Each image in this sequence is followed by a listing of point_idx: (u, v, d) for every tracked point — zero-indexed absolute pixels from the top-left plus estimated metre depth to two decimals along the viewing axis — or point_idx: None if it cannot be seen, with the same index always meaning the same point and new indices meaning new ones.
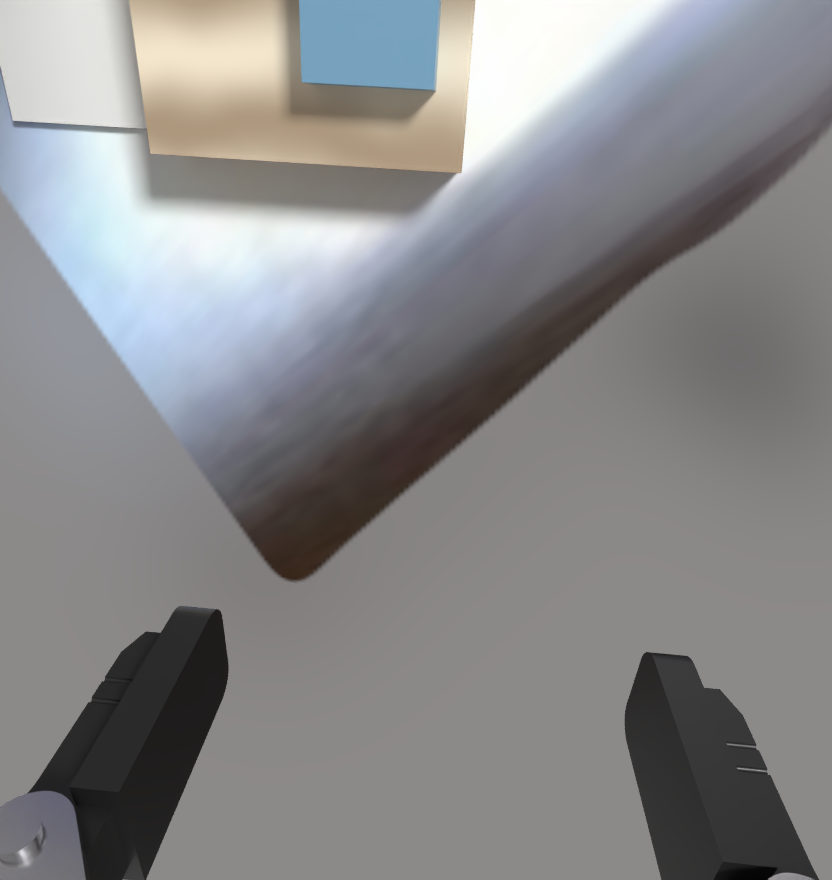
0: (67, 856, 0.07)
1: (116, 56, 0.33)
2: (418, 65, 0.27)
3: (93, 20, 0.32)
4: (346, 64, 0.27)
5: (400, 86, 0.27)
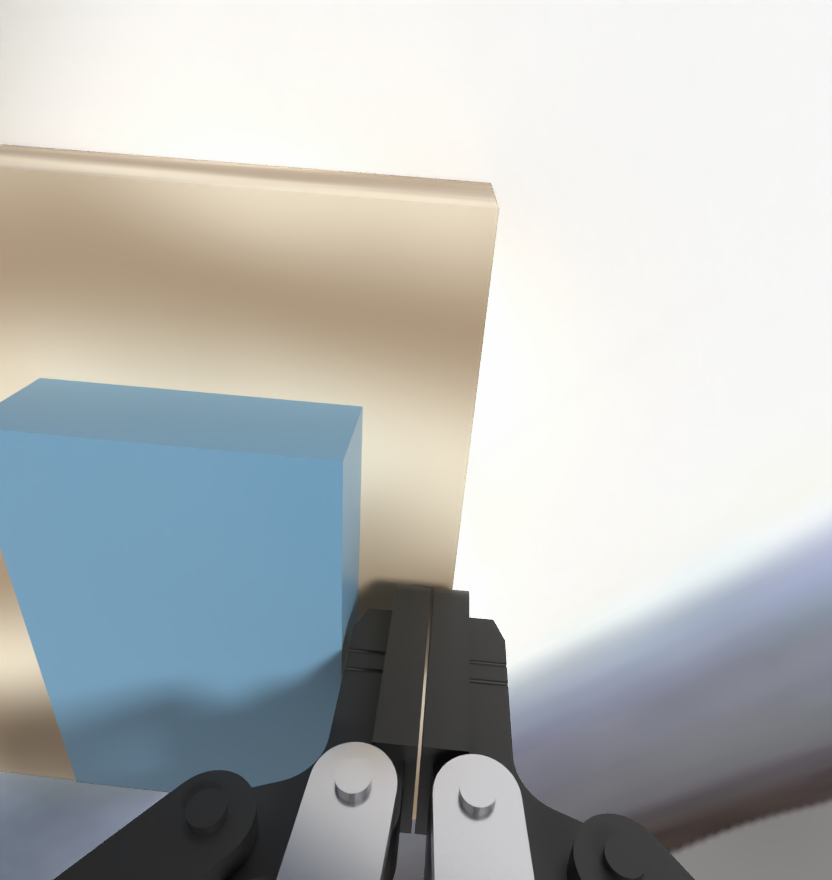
0: (378, 826, 0.08)
1: None
2: None
3: None
4: (161, 770, 0.13)
5: None
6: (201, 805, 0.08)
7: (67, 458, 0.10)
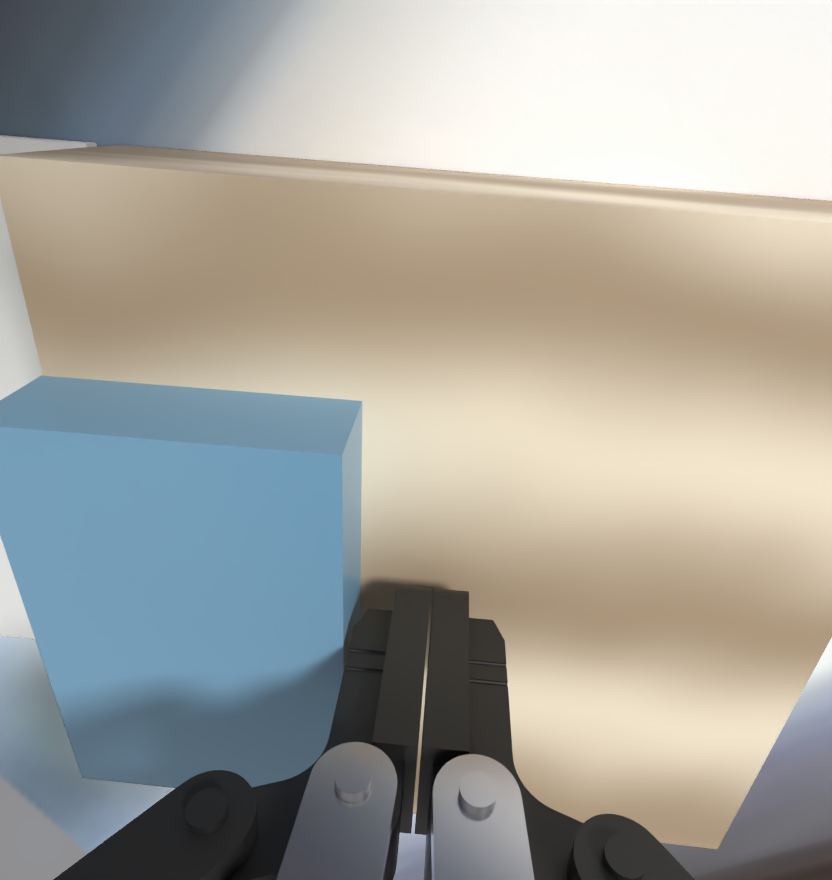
0: (378, 826, 0.08)
1: None
2: None
3: None
4: (165, 765, 0.13)
5: None
6: (201, 805, 0.08)
7: (67, 455, 0.10)
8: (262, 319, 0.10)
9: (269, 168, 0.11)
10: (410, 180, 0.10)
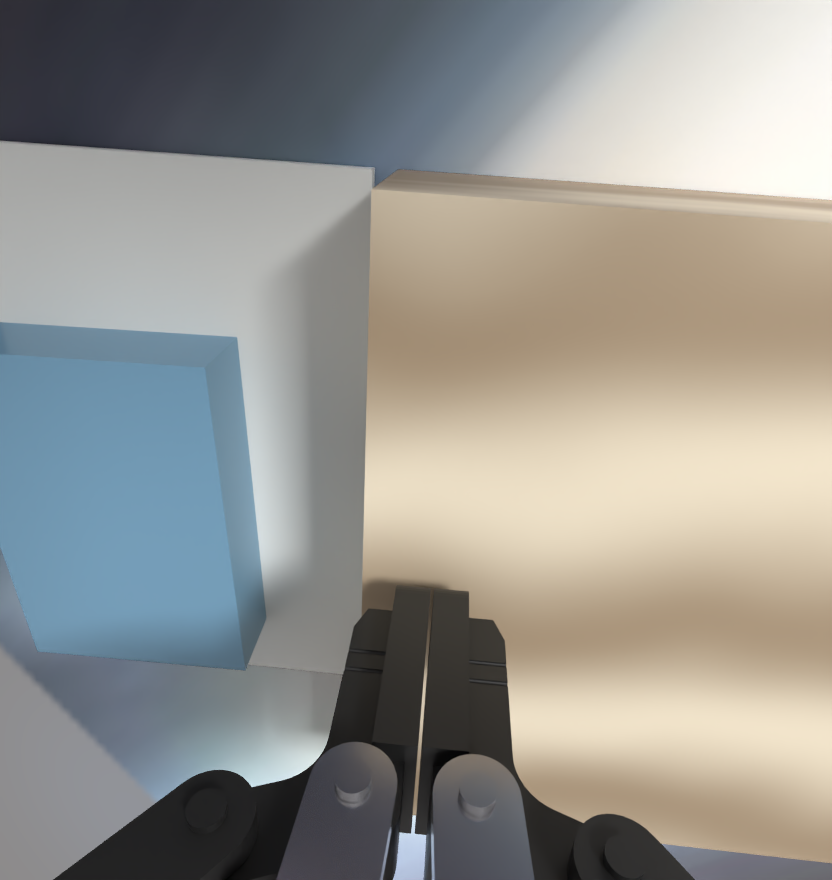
0: (378, 825, 0.08)
1: (283, 589, 0.18)
2: None
3: None
4: None
5: None
6: (201, 805, 0.08)
7: None
8: (617, 352, 0.10)
9: (617, 197, 0.10)
10: (768, 209, 0.10)
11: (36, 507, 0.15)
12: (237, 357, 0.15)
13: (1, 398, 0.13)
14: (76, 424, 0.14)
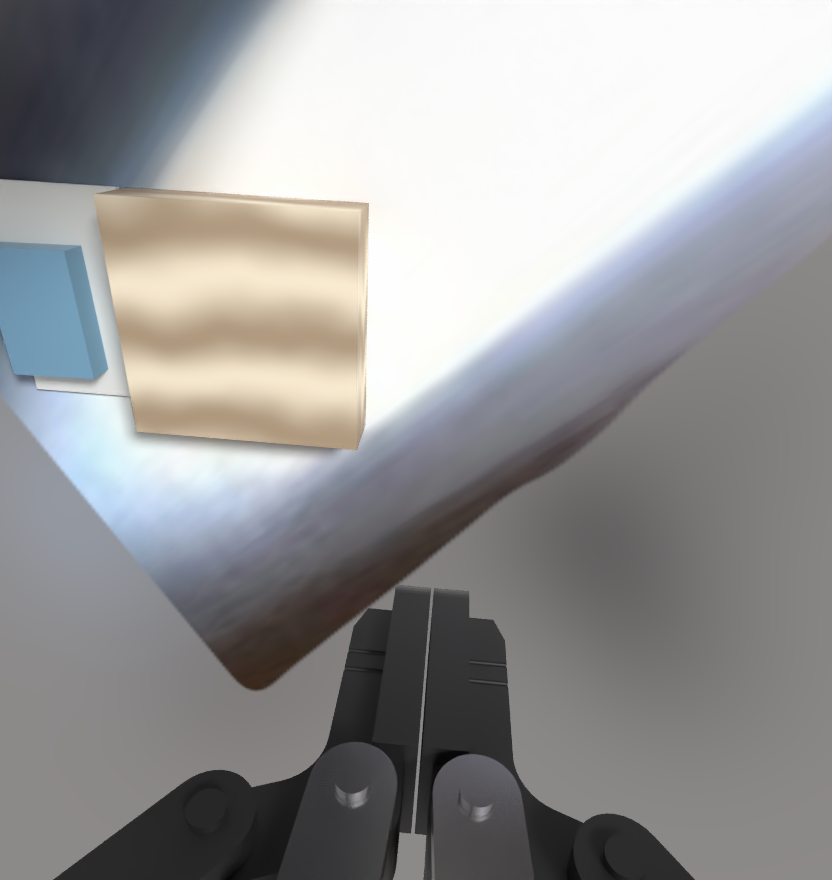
0: (378, 826, 0.08)
1: (112, 353, 0.45)
2: None
3: None
4: None
5: None
6: (201, 805, 0.08)
7: None
8: (167, 238, 0.37)
9: (169, 195, 0.37)
10: (207, 198, 0.37)
11: (11, 306, 0.42)
12: (81, 253, 0.42)
13: None
14: (24, 273, 0.41)
